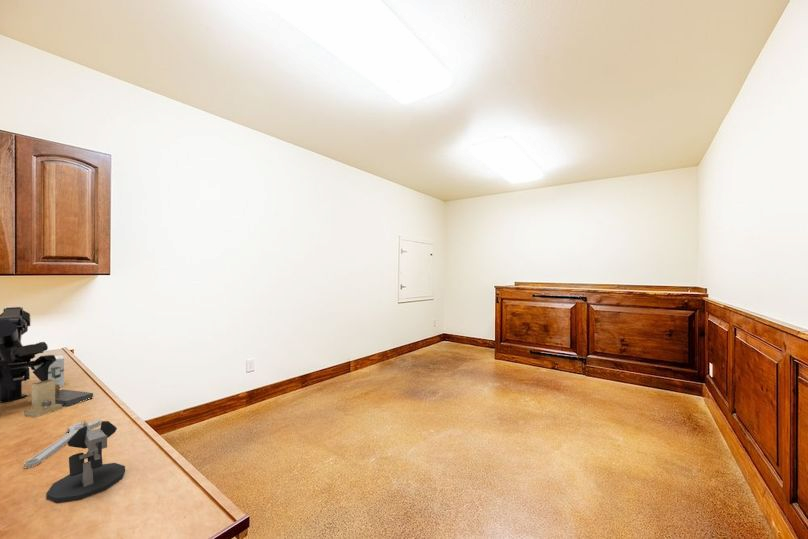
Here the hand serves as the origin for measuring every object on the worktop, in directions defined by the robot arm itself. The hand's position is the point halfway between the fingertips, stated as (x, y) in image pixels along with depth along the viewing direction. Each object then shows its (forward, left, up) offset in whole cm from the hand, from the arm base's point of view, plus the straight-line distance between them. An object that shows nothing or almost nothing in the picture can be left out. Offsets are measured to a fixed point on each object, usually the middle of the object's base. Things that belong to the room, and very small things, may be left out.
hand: (31, 385), depth 116 cm
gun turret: (+65, -23, -8) cm, 70 cm away
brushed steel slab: (+2, +8, -8) cm, 11 cm away
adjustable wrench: (+40, -14, -8) cm, 43 cm away
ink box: (-22, +18, -8) cm, 29 cm away
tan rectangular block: (+8, -1, -8) cm, 11 cm away
